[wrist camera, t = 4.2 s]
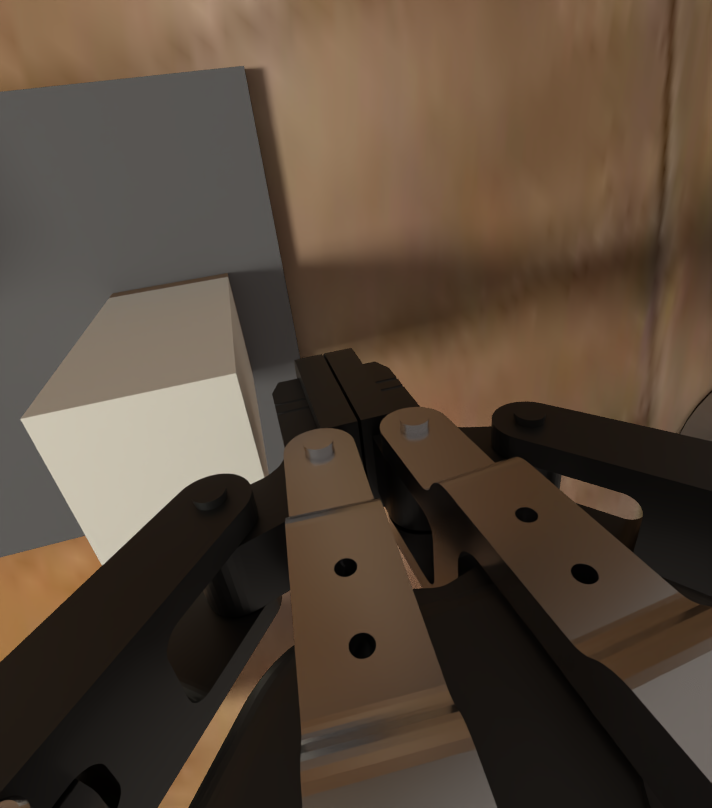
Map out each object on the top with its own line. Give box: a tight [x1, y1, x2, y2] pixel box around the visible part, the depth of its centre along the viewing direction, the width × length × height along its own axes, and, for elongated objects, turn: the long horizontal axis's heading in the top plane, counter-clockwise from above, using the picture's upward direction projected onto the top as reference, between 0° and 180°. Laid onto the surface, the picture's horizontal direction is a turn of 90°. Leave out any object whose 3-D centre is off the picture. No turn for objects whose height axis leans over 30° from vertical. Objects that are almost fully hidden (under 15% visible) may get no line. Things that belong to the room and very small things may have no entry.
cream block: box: [21, 273, 269, 565], centre depth 14 cm, size 4×4×9 cm
